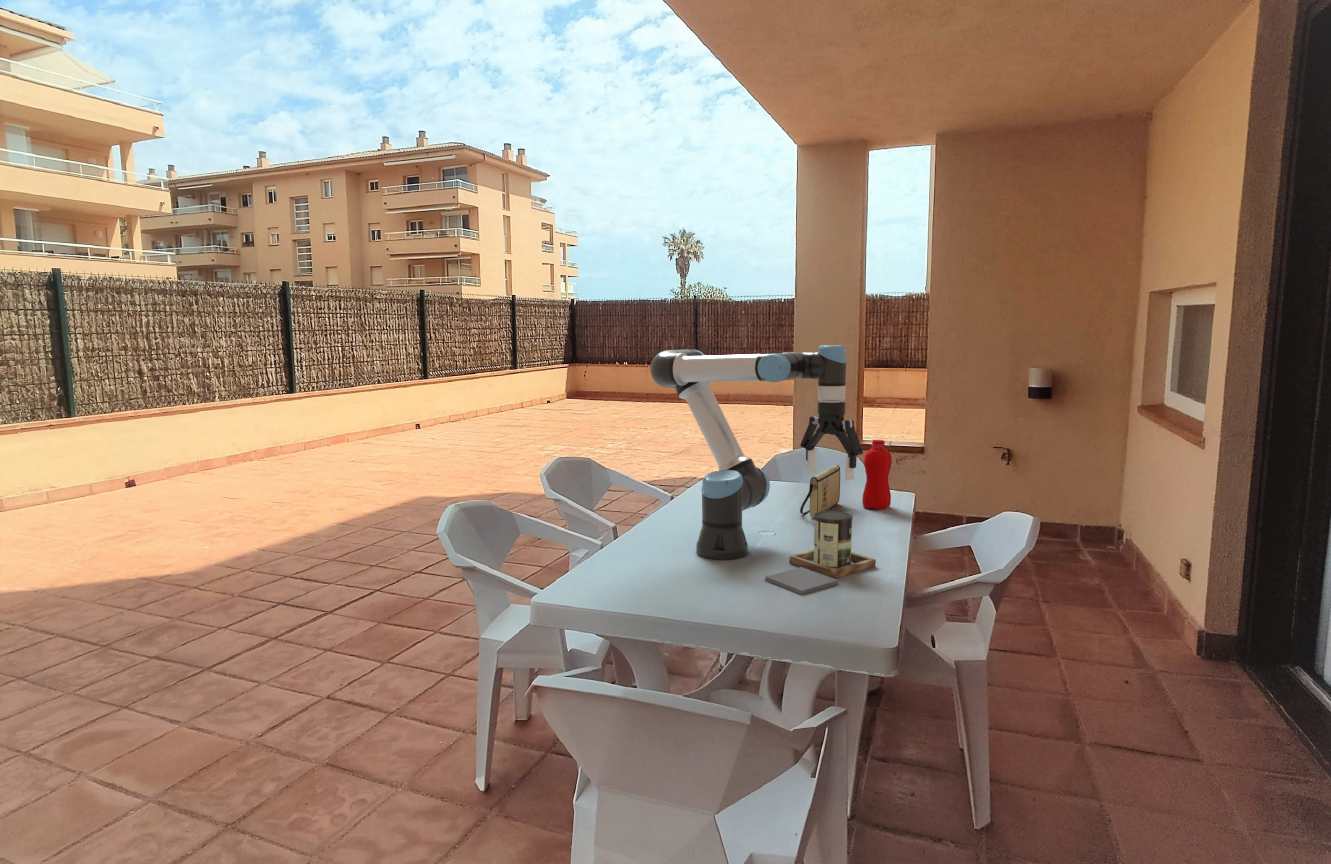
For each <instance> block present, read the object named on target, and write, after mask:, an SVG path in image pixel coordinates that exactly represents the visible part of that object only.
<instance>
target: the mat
mask: <svg viewBox="0 0 1331 864" xmlns="http://www.w3.org/2000/svg"><path fill="white" fill-rule="evenodd" d="M764 578H765V581H766V582H769V583H772V584H774V585H777V586H778V587H782V588H784V589H786V590H789V591H792V592H794V593H796V594H799V595H807V594H808V593H812V592H815V591H819V590H822V589H826V588H829V587H832V586H835V585H838V584H839V580H838V579H837V578H835V579H834V578H831V577H828V576H826V575H823V574H820V573H817V572H814V571H811V570H809V569H806V568H803V567H800V566H798V567H797V568H796V567H795V568H792V569H789V570H784V571H781V572H778V573H777V572H776V573H773V574H769V575H766V576H764Z"/></svg>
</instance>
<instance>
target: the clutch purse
mask: <svg viewBox="0 0 1331 864" xmlns="http://www.w3.org/2000/svg"><path fill="white" fill-rule="evenodd" d="M840 494H841V467H840V465H839V464H835V465H833V466H831V467H830V468H827V469H825V470H823V471H821V472H820V473H818V474H816V475H814V476H812V477H811V478H810V481H809V489H808V492H807V495H806V497H805V499H804V500H803V502H802V503H801V506H800V509H799V513H800V514H802V515H803V514H807V513H809V515H810V518H811V519H812V518H814V514H815V513H817V512H821V511H829V509H831V508H832V507H834V506H835V505H837V504H839V502H840V497H841V495H840ZM807 501H809V510H810V511H809V510H807V511H808V512H807V511H804V507H805V506H806V503H807Z"/></svg>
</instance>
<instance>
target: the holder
mask: <svg viewBox="0 0 1331 864" xmlns="http://www.w3.org/2000/svg"><path fill="white" fill-rule="evenodd" d="M810 558H813V559H814V549H810V550H806V551H803V552H799V553H795V554H791V555H789V558H788V559H789V564H792V565H794V566H797V565H798V567H803V568H805V569H808V570H812V571H814V572H817V573H819V574H822V575H825V576H828V577H831V578H834V579H838V578H841V577H845V576H848V575H850V574H851V573H852V574H855V573H858V571H859V572H861V570H862V571H865V570H864V569H866V570H869V569H872V568H876V561H877V560H876V559H875V558H872V557H869V556H865V555H862V554H859V553H856V552H852V551H851V560H853V561H852V562H853V563H851V565H847V566H844V567H840V568H836V569H832V568H829V567H826V566H824V565H821V564H818V563H815V562H814V561H812V560H811V559H810ZM807 559H809V560H807ZM854 561H856V562H854ZM857 562H858V563H857ZM868 568H869V569H868ZM852 574H851V575H852Z"/></svg>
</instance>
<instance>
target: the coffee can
mask: <svg viewBox="0 0 1331 864" xmlns="http://www.w3.org/2000/svg"><path fill="white" fill-rule="evenodd" d="M853 518H854V517H853V514H850V513H848V512H844V511H839V510H838V511H837V510H826V511H821V512H817V513H815V514H814V519H813V521H814V527H813V529H814V530H813V531H814V532H813V534H814V535H813V539H814V540H813V550H814V558H813V562H815V563H818V564H821V565H824V566H826V567H829V568H832V569H836V568H840V567H844V566H847V565H851V564H852V561H851V552H852V535H853V534H852V533H853V532H852V531H853V529H852V528H853Z"/></svg>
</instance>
